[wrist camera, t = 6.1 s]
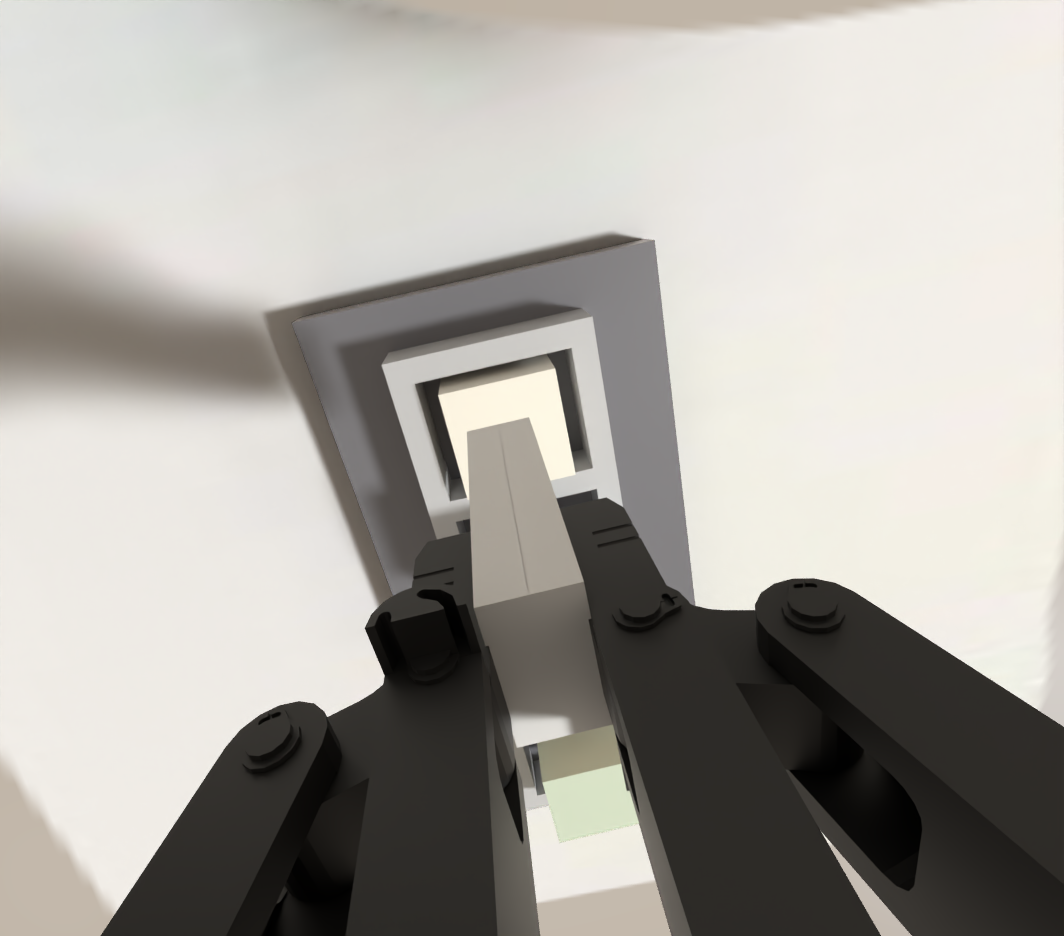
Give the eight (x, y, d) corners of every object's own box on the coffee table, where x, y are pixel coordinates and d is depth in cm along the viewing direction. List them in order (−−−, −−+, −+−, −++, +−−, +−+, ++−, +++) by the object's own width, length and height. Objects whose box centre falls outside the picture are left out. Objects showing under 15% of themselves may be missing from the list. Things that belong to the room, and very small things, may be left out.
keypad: (300, 317, 20) (274, 332, 17) (644, 239, 20) (672, 242, 17) (472, 789, 29) (473, 848, 27) (702, 734, 30) (726, 786, 27)
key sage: (536, 735, 24) (542, 782, 22) (620, 714, 24) (635, 760, 22) (552, 793, 25) (559, 842, 23) (632, 774, 25) (646, 821, 23)
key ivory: (440, 376, 19) (438, 395, 17) (545, 353, 19) (555, 368, 17) (467, 473, 21) (467, 500, 19) (565, 450, 21) (575, 474, 19)
